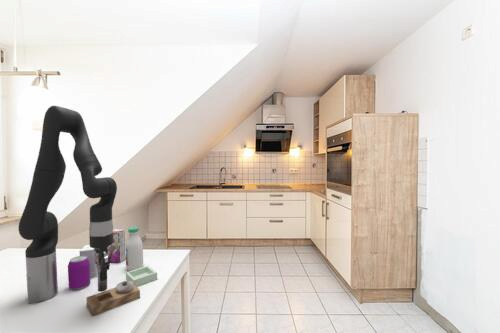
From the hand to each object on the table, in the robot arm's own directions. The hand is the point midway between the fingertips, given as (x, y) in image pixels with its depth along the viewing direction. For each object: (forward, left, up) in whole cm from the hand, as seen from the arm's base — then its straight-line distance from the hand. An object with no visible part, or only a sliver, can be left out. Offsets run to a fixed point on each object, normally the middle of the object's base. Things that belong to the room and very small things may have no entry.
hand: (102, 278), depth 93 cm
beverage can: (-3, +23, -10) cm, 25 cm away
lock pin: (0, 0, -4) cm, 4 cm away
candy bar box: (+15, +41, -10) cm, 45 cm away
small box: (+3, +32, -10) cm, 34 cm away
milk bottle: (+20, +24, -10) cm, 33 cm away
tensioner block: (+4, 0, -10) cm, 11 cm away
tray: (+18, +10, -10) cm, 23 cm away
